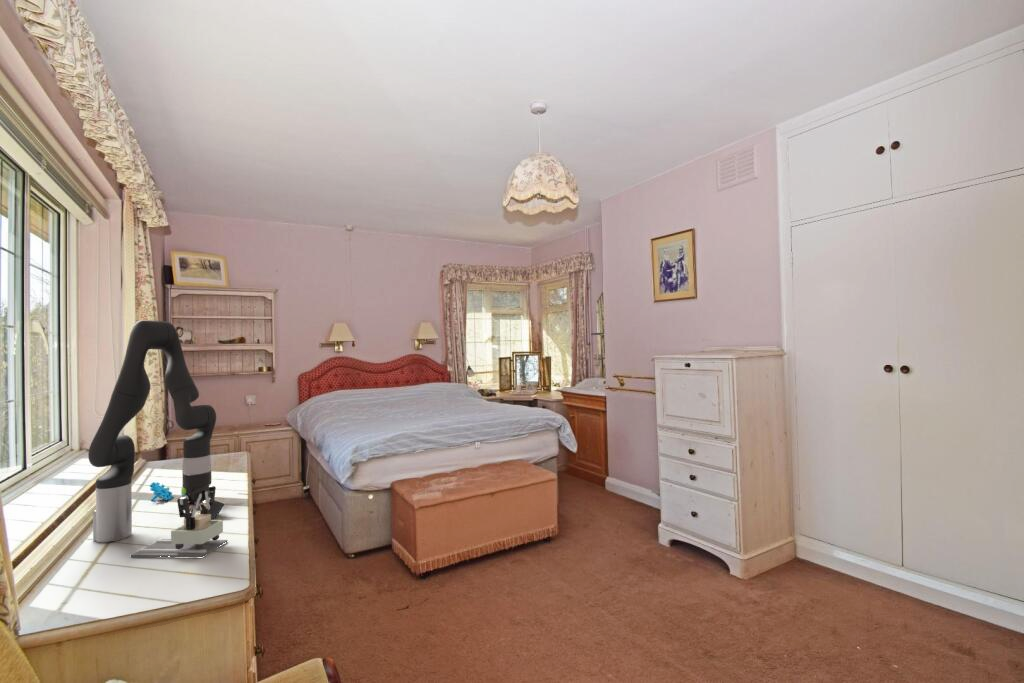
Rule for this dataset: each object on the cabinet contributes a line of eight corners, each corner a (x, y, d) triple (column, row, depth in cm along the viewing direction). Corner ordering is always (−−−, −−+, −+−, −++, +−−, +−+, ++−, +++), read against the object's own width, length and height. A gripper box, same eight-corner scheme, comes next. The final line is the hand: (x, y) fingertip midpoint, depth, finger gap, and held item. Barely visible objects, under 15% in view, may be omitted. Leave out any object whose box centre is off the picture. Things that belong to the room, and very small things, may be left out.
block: (183, 535, 150) (183, 519, 150) (195, 529, 155) (195, 513, 155) (199, 536, 150) (199, 519, 150) (210, 530, 155) (210, 514, 155)
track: (130, 557, 148) (130, 552, 148) (161, 541, 160) (161, 537, 160) (201, 558, 146) (201, 553, 146) (227, 542, 158) (227, 537, 158)
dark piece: (178, 517, 178) (197, 491, 183) (193, 524, 183) (211, 498, 189) (197, 526, 173) (216, 499, 178) (212, 533, 178) (230, 507, 183)
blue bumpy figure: (165, 499, 200) (147, 482, 200) (153, 511, 198) (135, 493, 198) (179, 495, 210) (162, 479, 210) (168, 506, 209) (151, 489, 209)
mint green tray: (171, 550, 148) (171, 531, 148) (194, 538, 158) (193, 519, 158) (201, 550, 147) (201, 531, 147) (222, 538, 157) (222, 520, 157)
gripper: (201, 465, 160) (202, 517, 160) (167, 476, 146) (168, 534, 146) (223, 465, 160) (224, 517, 159) (192, 476, 145) (192, 534, 145)
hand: (197, 525), depth 153 cm, fingers open, 5 cm apart
